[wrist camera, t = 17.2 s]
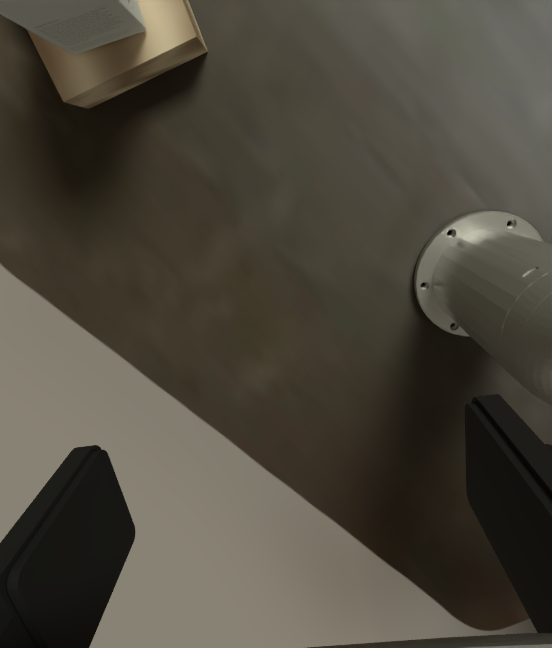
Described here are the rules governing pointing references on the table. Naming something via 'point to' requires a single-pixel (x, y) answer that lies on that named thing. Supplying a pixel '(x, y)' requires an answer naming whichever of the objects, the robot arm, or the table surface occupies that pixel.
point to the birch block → (125, 55)
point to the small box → (76, 21)
